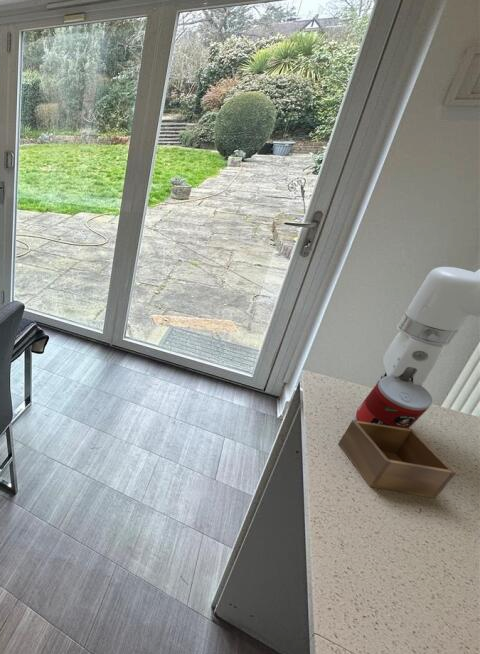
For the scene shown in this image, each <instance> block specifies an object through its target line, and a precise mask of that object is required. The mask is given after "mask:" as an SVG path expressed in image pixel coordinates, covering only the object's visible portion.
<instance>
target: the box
mask: <svg viewBox="0 0 480 654" xmlns="http://www.w3.org/2000/svg"><path fill="white" fill-rule="evenodd" d="M338 446H339V448H341V449H342V451H343V453H344V454H345V456H346V457H347V458H348V460H349V461H350V462H351V463H352V465H353V466H354V467H355V469H356V470H357V472H358V473H359V474H360V475H361V478H363V480H364V481H365V482H366V483H367V485H368V486H369V487H371V488H376V489H382V490H386V491H392V492H398V493H402V494H403V493H404V494H408V495H415V496H421V497H426V498H431V499H436V498H437V497H438V496H439V495H440V493H441V492H442V491H443V490H444V489H445V488H446V486H448V484H449V482H451V480H452V479H453V478H454V477H455V476H456V474H457V473H456V472H455V470H454V469H453V468H452V467H451V466H450V465H448V463H447V462H446V461H445V460H444V459H443V458H442V457H441V456H440V455H439V454H438V453H437V452H436V451H435V450H434V449H433V448H432V447H431V446H430V445H429V444H428V443H427V442H426V441H425V440H424V439H423V438H422V437H421V436H420V435H419V434H418V433H417V432H416V431H415V430H414V429H413V428H409V429H407V428H400V427H394V426H387V425H381V424H375V423H368V422H362V421H357V420H351V422H350V423H349V425H348V427H347V429H346V430H345V432H344V433H343V435H342V437H341V439H340V440H339V441H338Z"/></svg>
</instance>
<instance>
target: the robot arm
mask: <svg viewBox="0 0 480 654" xmlns="http://www.w3.org/2000/svg"><path fill="white" fill-rule="evenodd" d="M469 316H474V317H477V318H480V268H479V269H477V270H476V271H471V270H468V269H464V268H459V267H454V266H439V267H435V268H433V269H432V270H430V272H428V274H427V275H426V277H425V279H424V281H423V282H422V284H421V286H420V287H419V289H418V290H417V292H416V294H415V296H414V297H413V299H412V301H410V304H409V305H408V307H407V309H406V310H405V312H404V313H403V315H402V317H401V318H400V320H399V322H398V324H397V325H396V330H398V332H397V334H396V336H395V337H394V338H393V339H392V341H391V343H390V344H389V346H388V348H387V349H386V351H385V352H384V355H383V358H382V360H383V361H382V362H383V366H384V367H383V368H384V370H383V372H382V374H381V375H380V379H379V380H378V381H377V383H378V382H379V381H380V380H381V379H382V378H383V377H385V376H393V377H394V378H395V376H396V377H398V376H400V380H401V381H405V382H408V381H409V379H410V380H412V381H413V384H415V385H421V386H422V387H423V385H424V383H425V382H426V380H427V379H428V377H429V375H430V373H431V372H432V370H433V368H434V367H435V365H436V363H437V361H438V359H439V357H440V355H441V352H442V350H443V348H444V347H445V346H449V345H450V343H451V342H452V340H453V339H454V337H455V336H456V334H457V333H458V332H459V330H460V329H461V327H462V326H463V324H464V323H465V321H466V320H467V318H468V317H469Z"/></svg>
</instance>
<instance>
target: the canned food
mask: <svg viewBox="0 0 480 654" xmlns="http://www.w3.org/2000/svg"><path fill="white" fill-rule="evenodd" d="M379 380H380V379H379ZM379 380H378V381H379ZM378 381H377V382H376V384H375V385H374V387H373V388H372V389H371V391H370V392H369V394H368V395H367V396H366V398H364V400H363V401H362V402H361V404H360V405H359V407H358V408H357V409H356V414H355V419H356V421H362V422H368V423H375V424H381V425H387V426H394V427H400V428H407V429H411V427H412V426H413V425H414V424H415V423H416V422H417V421H418V420H419V419H420V418H421V416H423V415H424V414H425V412H427V410H428V409H429V408H430V407H431V405H432V404H433V397H432V395H431V394H430V392H429V391H428V390H427V389H426V388H425V387H424V386H423V385H422V386H421V385H415V384H413V381H412V380H411V379H409V381H408V382H405V381H401V380H400V376H398V377H396V376H395V378H394V377H393V376H385V377H383V378H382V379H381V380H380V381H379V382H378Z"/></svg>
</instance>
